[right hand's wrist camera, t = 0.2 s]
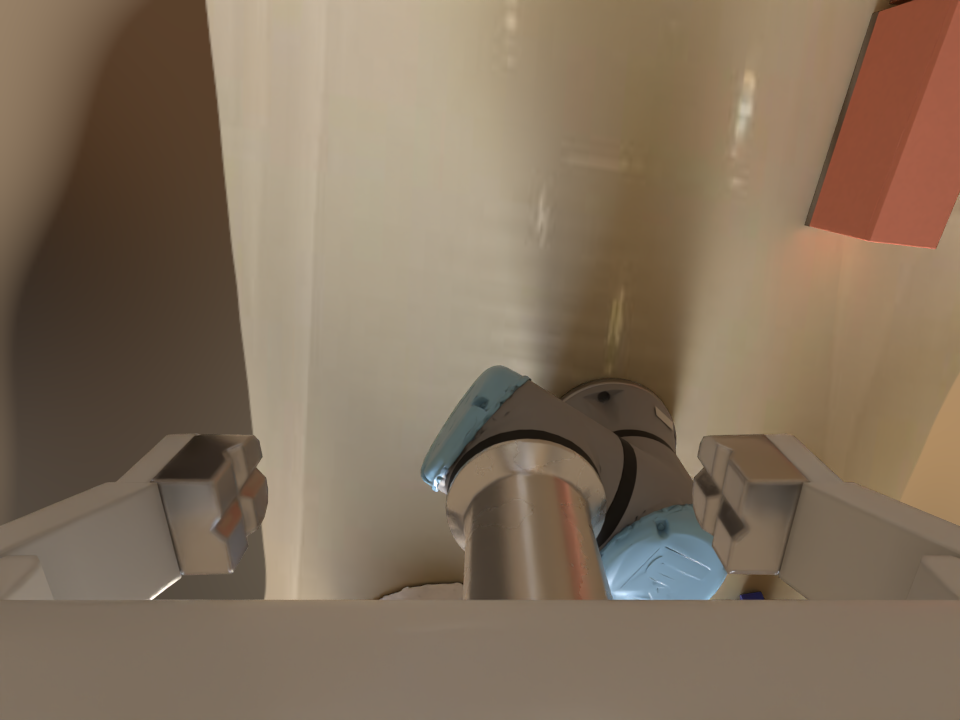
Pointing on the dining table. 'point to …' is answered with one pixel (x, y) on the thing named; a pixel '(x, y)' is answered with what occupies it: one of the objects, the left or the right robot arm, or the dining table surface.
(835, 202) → the long terracotta box
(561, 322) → the dining table surface
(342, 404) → the dining table surface
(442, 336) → the dining table surface
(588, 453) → the left robot arm
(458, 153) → the dining table surface
